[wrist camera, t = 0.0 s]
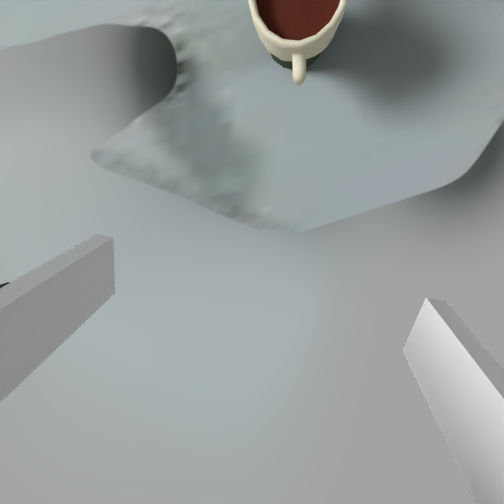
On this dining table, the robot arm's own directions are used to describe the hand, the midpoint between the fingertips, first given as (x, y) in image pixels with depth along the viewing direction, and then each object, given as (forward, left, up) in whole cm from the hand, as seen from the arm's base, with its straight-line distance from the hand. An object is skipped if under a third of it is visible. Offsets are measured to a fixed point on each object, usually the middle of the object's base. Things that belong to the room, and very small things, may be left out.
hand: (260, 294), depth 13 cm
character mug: (-15, -1, -28) cm, 32 cm away
